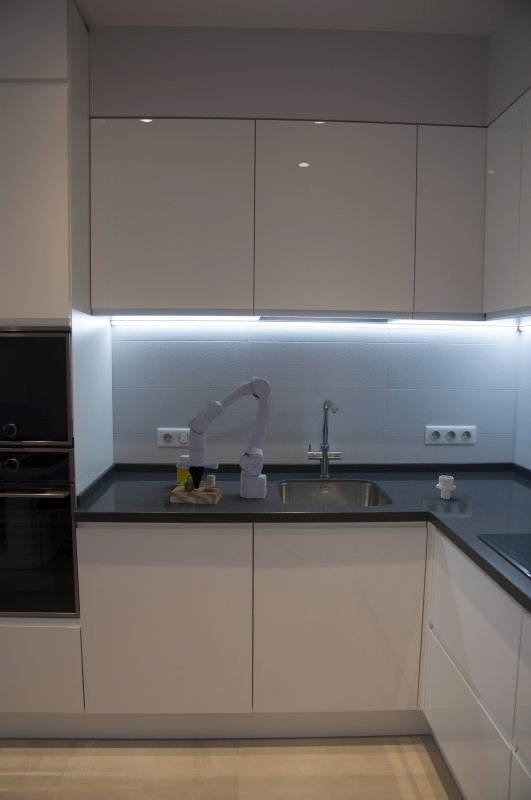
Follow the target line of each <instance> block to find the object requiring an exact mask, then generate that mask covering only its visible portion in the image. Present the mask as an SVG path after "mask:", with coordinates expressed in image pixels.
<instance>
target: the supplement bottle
mask: <svg viewBox="0 0 531 800" xmlns="http://www.w3.org/2000/svg"><path fill="white" fill-rule="evenodd" d="M179 461H189V454H182V455H180V456H179ZM176 469H177V470H176V487H177V486H178V485H184V483H185V482H186V481H187V480H188V479H192V477H191V475H190V473H189V467H176Z"/></svg>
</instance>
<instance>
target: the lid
mask: <svg viewBox="0 0 531 800" xmlns="http://www.w3.org/2000/svg"><path fill="white" fill-rule="evenodd" d="M171 492H190V493H212V494H217V496H218V495H219V493H220V492H221V488H211V487H199V489H195V488H194V483H193V479H188V480H187V481H186V482H185V483H184V486H177V485H176V487H175V488H174V489H172V491H171Z"/></svg>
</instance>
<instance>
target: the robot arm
mask: <svg viewBox="0 0 531 800" xmlns="http://www.w3.org/2000/svg"><path fill="white" fill-rule="evenodd" d="M272 388H273V387H272V385H271V383H270V382H269V381H268V379H267V378H264V377H262V376H261V377H259V376H255V375H253V376H249V377H248V378H247V379H246V380H243V381H242V382H241V383H239V384H238V385H237V386H236V387H235V388H233V390H231V391H230V392H229V393H227V394H226V395H225V396H224V397H223V398H221V399H220V400H219V401H217V400H213V401H209V402H208V403H207V405H206V407H204V408H203V409H202V410H198V411H197V414H194V415H192V416H190V418H189V420H188V422H187V426H188V428H189V442H188V444H189V445H188V446H189V447H188V448H189V449H188V455H189V461H181V460H177V461H175V462H176V464H175V465H176V468H177V467H189V473H190V475H191V477H192V479H193V483H194V488H195V489H199V487H200V486H201V481H202V478H203V476H204V473H205V472H206V469H214V470H218V469H219V462H216V461H208V460H207V461H206V456H207V450H206V449H207V436H206V435H207V434H206V432H207V431H208V428H209V426H210V425H212V424H213V423H215V421H217V420H218V419H219V418H220V417H222V416H224V415H225V410H226V408H228V407H230V406H231V405H232V404H234V403H235V402H237V401H238V400H240V399H241V398H242V397H245V396H253V397H254V398H255V400H256V401H257V403H258V407H257V409H256V410H257V411H256V414H255V418H254V422H253V426H252V430H251V433H250V436H249V440H248V441H249V442H248V445H247V446H246V448H245V449H244V450H243V451H244V452H243V454H242V455H241V457H239V461H238V462H239V463H238V464H239V466H240V468H241V471H240V495H239V496H240V497H241V498H245V499H265V498H266V496H267V494H268V493H267V492H268V490H267V475H266V474H262V471H263V467H264V463H263V459H264V454H263V453H264V452H263V447H264V443H265V439H266V435H267V432H268V428H269V425H270V421H271V417H272V413H273V409H274V405H275V398H274V395H273V390H272Z"/></svg>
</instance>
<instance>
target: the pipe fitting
mask: <svg viewBox="0 0 531 800" xmlns="http://www.w3.org/2000/svg"><path fill="white" fill-rule="evenodd" d="M454 480H455V478H454V477H453V476H451V475H439V476H438V484H436V485H435V488H437V489H439V490H441V491H440V498H441V499H442V498H443V500H450V498H451V491H455V490H456V489H457V486H456V485H454V483H455V481H454Z"/></svg>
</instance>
